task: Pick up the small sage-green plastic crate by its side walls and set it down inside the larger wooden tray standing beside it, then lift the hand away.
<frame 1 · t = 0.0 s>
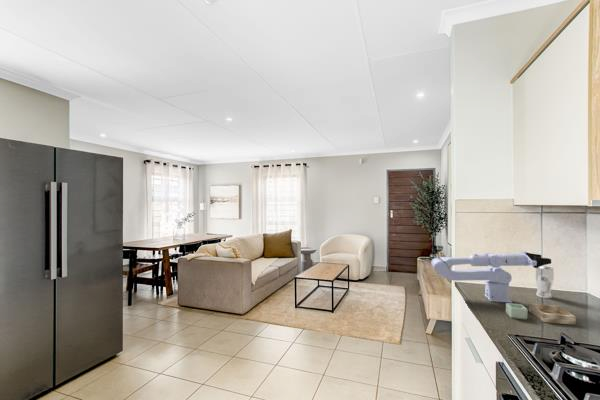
hand: (545, 259, 137), 22 cm above the worktop, tool horizontal, fingers open, 7 cm apart
wooden tray: (550, 317, 123), on the worktop
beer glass: (543, 296, 147), on the worktop
small crate: (516, 316, 125), on the worktop
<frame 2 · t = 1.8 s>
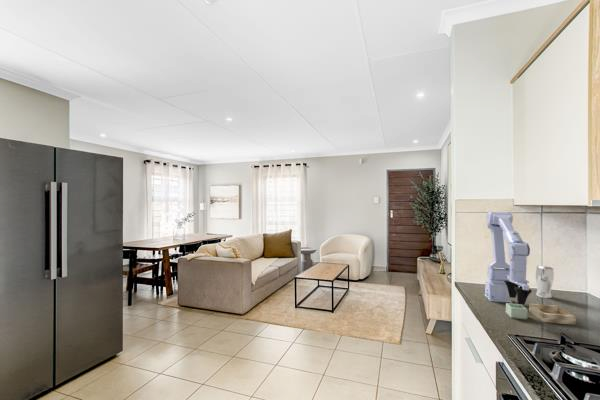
hand: (516, 300, 124), 7 cm above the worktop, tool pointing down, fingers open, 7 cm apart
nothing on the worktop moved.
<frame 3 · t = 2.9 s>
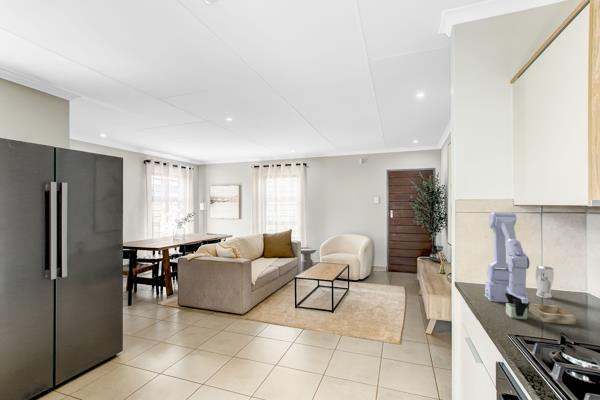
hand: (516, 313, 124), 1 cm above the worktop, tool pointing down, fingers closed on small crate, 5 cm apart
small crate: (516, 316, 125), on the worktop, touching gripper
everything else where it was.
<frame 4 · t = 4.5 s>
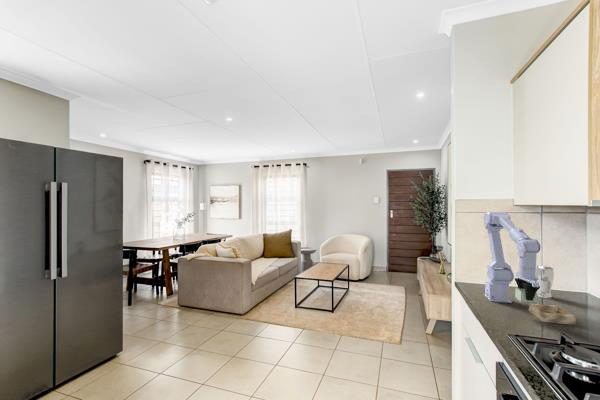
hand: (526, 297, 124), 8 cm above the worktop, tool pointing down, fingers closed on small crate, 5 cm apart
small crate: (525, 300, 124), point 7 cm above the worktop, touching gripper
everything else where it was.
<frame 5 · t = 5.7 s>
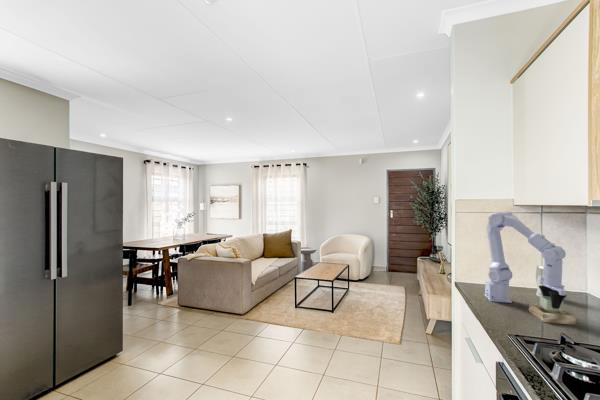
hand: (551, 305, 123), 5 cm above the worktop, tool pointing down, fingers closed on small crate, 5 cm apart
small crate: (550, 308, 123), point 4 cm above the worktop, touching gripper
everything else where it was.
when the fingers open (3 cm above the worktop, at t = 6.6 s): small crate drops 1 cm, resting on wooden tray.
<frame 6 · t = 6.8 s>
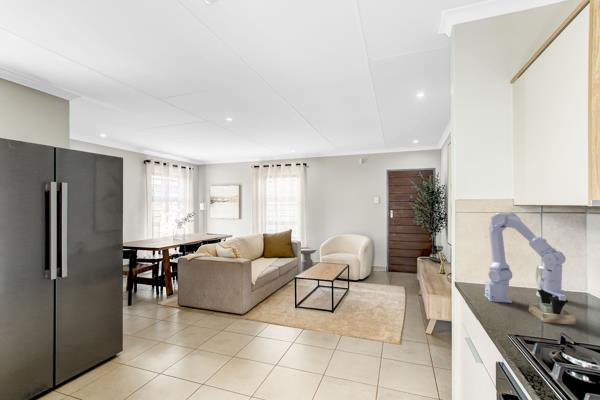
hand: (551, 310, 123), 3 cm above the worktop, tool pointing down, fingers open, 7 cm apart
small crate: (550, 316, 123), point 1 cm above the worktop, touching wooden tray
everything else where it was.
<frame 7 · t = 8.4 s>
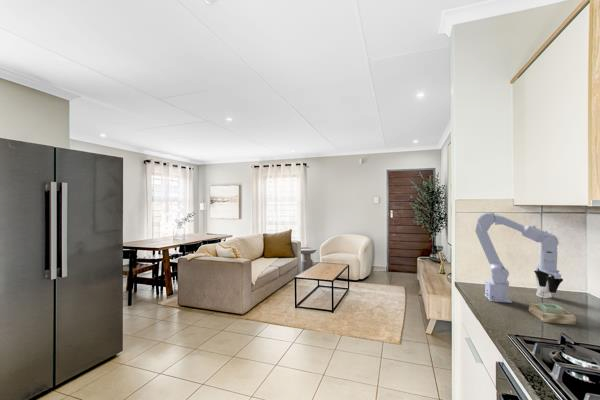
hand: (547, 289, 131), 9 cm above the worktop, tool pointing down, fingers open, 7 cm apart
nothing on the worktop moved.
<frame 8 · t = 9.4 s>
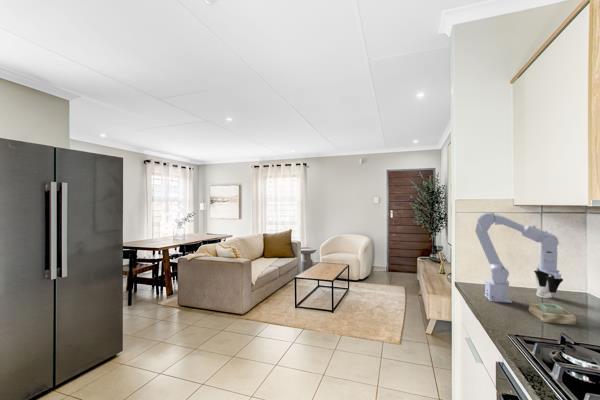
hand: (547, 289, 131), 9 cm above the worktop, tool pointing down, fingers open, 7 cm apart
nothing on the worktop moved.
at the end: small crate 0.2 cm off-centre on the wooden tray, point 0.6 cm above the wooden tray's base; small crate tilted 0°; the gripper is holding nothing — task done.
